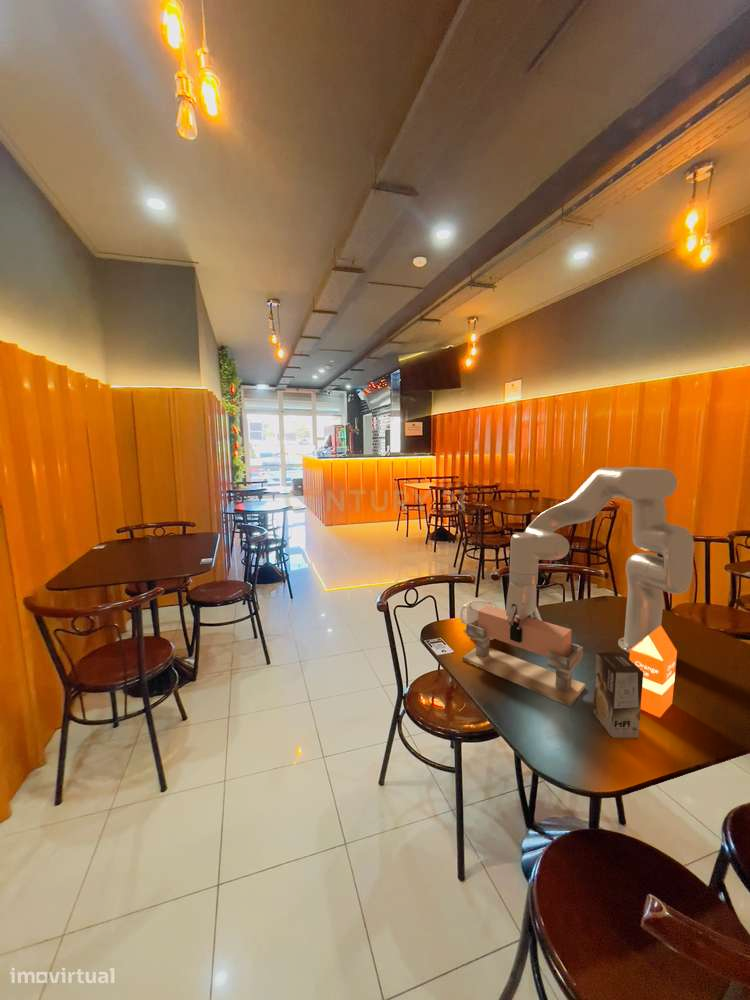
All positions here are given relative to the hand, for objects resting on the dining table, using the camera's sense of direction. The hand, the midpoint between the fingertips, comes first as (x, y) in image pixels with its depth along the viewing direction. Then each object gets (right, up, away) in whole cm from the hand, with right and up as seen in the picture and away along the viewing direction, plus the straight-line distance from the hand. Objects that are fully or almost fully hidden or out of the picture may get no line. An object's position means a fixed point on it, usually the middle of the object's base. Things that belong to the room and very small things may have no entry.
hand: (521, 636), depth 116 cm
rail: (0, -2, 0) cm, 2 cm away
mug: (-6, -8, +27) cm, 29 cm away
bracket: (+17, -8, +29) cm, 35 cm away
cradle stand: (0, -11, +2) cm, 12 cm away
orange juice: (+28, -13, -12) cm, 34 cm away
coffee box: (+15, -15, -20) cm, 29 cm away
